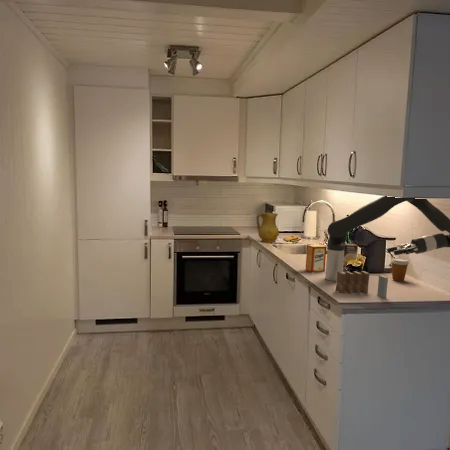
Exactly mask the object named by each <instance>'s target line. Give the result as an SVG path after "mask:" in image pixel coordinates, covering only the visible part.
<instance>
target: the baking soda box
mask: <svg viewBox="0 0 450 450" xmlns="http://www.w3.org/2000/svg"><path fill="white" fill-rule="evenodd" d="M305 256H306V257H305V258H306V259H305V271H306V270H307V272H309V271H310V272H309V273H311V272H314V273H326V261H327V246H326V245H324V244H323V245H322V244H307V245H306V255H305Z"/></svg>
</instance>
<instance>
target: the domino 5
mask: <svg viewBox="0 0 450 450" xmlns="http://www.w3.org/2000/svg"><path fill="white" fill-rule="evenodd" d="M377 282H378V284H377V294H376V295H378V296H379V297H381V298H384V299H385V298H386V299H387V292H388V282H389V277H387V276H385V275H383V274H381V275H380V274H379V275H378V281H377Z"/></svg>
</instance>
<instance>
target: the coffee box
mask: <svg viewBox="0 0 450 450" xmlns="http://www.w3.org/2000/svg"><path fill="white" fill-rule="evenodd" d="M355 244H356V243H345V248H344V260H343V271H347V270H346V265H347V262H348V261H349V260H356V259H357V258H358V248H359V245H358V244H356V245H355ZM357 245H358V246H357ZM357 260H358V259H357Z"/></svg>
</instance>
